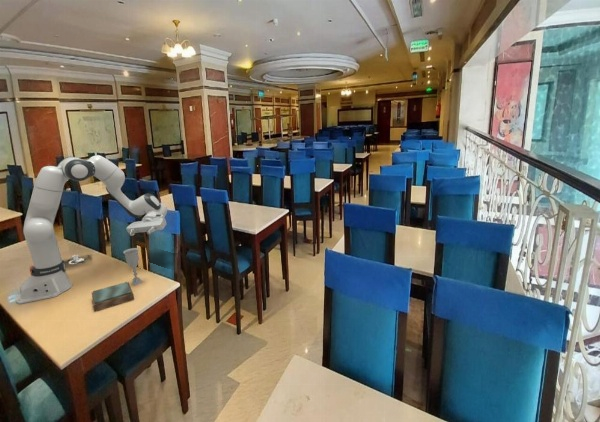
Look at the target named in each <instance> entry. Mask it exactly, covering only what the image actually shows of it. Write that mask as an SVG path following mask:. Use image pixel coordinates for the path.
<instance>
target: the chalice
mask: <svg viewBox="0 0 600 422" xmlns="http://www.w3.org/2000/svg"><path fill="white" fill-rule="evenodd" d="M123 254H124V257H125V262H126V264H127V265H128V266H129V267H130V268H131V269H132V270H133V276H134V278H133V279H132V281H131V285H132V286H136V285H137V286H138V285H140V284H142V283H143V280H142V279H141V278H140V277H138V273H137V270H136V268H137V266H138V264H139V262H140V256H139V248H138V247H133V248H127V249H125V250H123Z"/></svg>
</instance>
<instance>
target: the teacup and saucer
mask: <svg viewBox="0 0 600 422" xmlns="http://www.w3.org/2000/svg"><path fill="white" fill-rule="evenodd" d="M71 258H72V260H70V261H68V264H69V265H74V264H80V263H82V262H83V261H85V258H83V257H82V258H81V257H80V258H79V255H78V254H73V255H72V256H71Z"/></svg>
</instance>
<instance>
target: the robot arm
mask: <svg viewBox="0 0 600 422" xmlns="http://www.w3.org/2000/svg"><path fill="white" fill-rule="evenodd" d="M125 175H126V174H125V173H124V171H123V170H122V169H121V168H120V167H118V166H117V165H116V164H115V163H113V162H112V161H111V160H109V159H107V157H104V156H102V155H99V154H96V155H93V156H90V157H89V159H86V160H85V159H82V158H80V157H76V156H67V157H65V158H63V159H62V160H61V161H58V163H57V164H56V165H55V166H54V165H47V166H43V167H42V168H40V171H39V172H38V173H37V177H36V179H35V182H34V185H33V189H32V194H31V197H30V200H29V205H28V209H27V212H26V216H25V219H24V223H23V230H22V232H23V236H24V238H25V242H26V244H27V247H28V250H29V253H30V255H31V256H30V257H31V260H32V263H33V265H31V266H30V267H29V273H30V276H29V277H28V278H26V280H24V281H23V282H22V284H20V287H19V293H17V295H16V296H15V302H16V304H19V305H22V304H26V303H31V302H36V301H42V300H46V299H51V298H55V297H58V296H60V295H61V294H62V293H64V292H66V291H68V290H69V289H71V288H72V287H73V283H72V282H71V280H70V278H69V277H68V275H67V273H66V264H65V262H64V260H63V258H62V255H61V250H60V247H59V244H58V240H57V235H56V232H55V228H54V223H55V219H56V217H57V213H58V210H59V208H60V203H61V199H62V195H63V191H64V186H65V184H66V183H67V181H69V180H72V181H74V182H83V181H85V180H88V179H89V178H91V177H95V178H96V179H98V180H99V181H100V182H102V183H103V184H104V185H105V190H106V192H107V193H108V194H109V195H110V196H111V197H112V198H113V200H114V201H115V202H116V203H118V204H119V205H120V206H121V207H122V208H123V209H124V211H125V212H126V213H127V214H128V216H130V217H131V218H134V219H140V218H141V217H142V219H141V220H138V221H134V222H132V223H130V224H129V225H128V226H127V227H126V228H125V229H126V231H127V233H128V234H129V235H130V236H131V237H132V236H133V237H134V235H135V234H137V233H138V234H139V233H146V234H147V235H151V234H152V233H154V232H156V231H162V230H163V229H165V227H166V226H167V221H166V218H165V217H166V216H167V212H168V207H167V205H166V204H164V203H162V202H161V201H160V200H159V199H158V197H157V196H155V195H154V194H152V193H145V194H143V195H141V196H139V197H138V198H136V199H135V200H134V199H133V200H132V199H130V198H129V197H127V196H126V194H125V193H123V191H122V189H121V188H122V187H123V185H124V184H125V181H126V176H125ZM130 236H129V237H130Z"/></svg>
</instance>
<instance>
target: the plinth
mask: <svg viewBox="0 0 600 422" xmlns="http://www.w3.org/2000/svg"><path fill="white" fill-rule="evenodd" d="M91 299H92V304H93V308H94V309H93V310H94V312H98V311H102V310H105V309H107V308H111V307H112V308H113V307H115V306H117V305H120V304H121V305H122V304H124V303H128V302H130V301H131V302H132V301H134V300H135V295H134V293H133V289H132V287H131V284H130V282H129V281H125V282H121V283H118V284H114V285H111V286H110V285H109V286H106V287H103V288H100V289H96V290H93V291H92V292H91Z"/></svg>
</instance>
